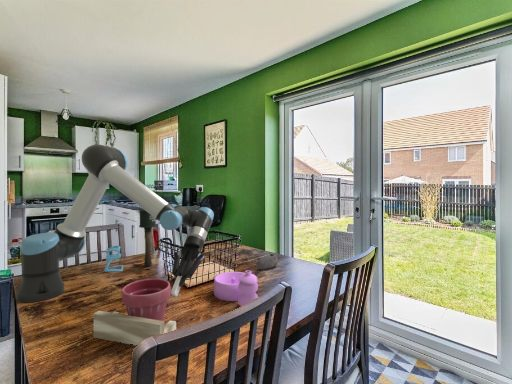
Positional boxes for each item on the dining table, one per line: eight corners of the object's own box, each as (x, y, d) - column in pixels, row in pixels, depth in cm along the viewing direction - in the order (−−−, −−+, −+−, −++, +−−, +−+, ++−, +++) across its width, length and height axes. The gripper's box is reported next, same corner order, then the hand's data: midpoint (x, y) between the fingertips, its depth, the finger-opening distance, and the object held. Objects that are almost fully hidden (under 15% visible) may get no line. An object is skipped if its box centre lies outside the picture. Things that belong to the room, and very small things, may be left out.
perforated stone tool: (260, 272, 141) (260, 258, 140) (253, 269, 145) (253, 256, 144) (280, 266, 151) (281, 253, 150) (273, 264, 155) (274, 251, 154)
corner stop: (114, 323, 89) (114, 302, 89) (176, 334, 83) (176, 311, 83) (93, 337, 81) (93, 313, 81) (160, 350, 76) (160, 324, 75)
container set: (209, 289, 118) (209, 258, 117) (241, 284, 125) (242, 254, 124) (232, 315, 96) (233, 277, 95) (271, 306, 103) (271, 271, 102)
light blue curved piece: (105, 268, 143) (104, 245, 143) (123, 266, 147) (122, 243, 146) (103, 273, 136) (103, 248, 136) (122, 271, 140) (122, 247, 139)
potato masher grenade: (150, 269, 143) (150, 210, 142) (135, 267, 145) (135, 210, 144) (159, 264, 151) (159, 209, 150) (145, 263, 153) (145, 208, 152)
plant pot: (115, 325, 88) (115, 285, 88) (158, 311, 98) (158, 275, 97) (132, 344, 78) (131, 299, 77) (178, 327, 87) (178, 286, 87)
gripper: (212, 245, 118) (193, 301, 103) (184, 243, 122) (162, 296, 106) (207, 235, 113) (186, 292, 98) (178, 233, 116) (153, 288, 101)
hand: (173, 294), depth 102 cm, fingers closed
